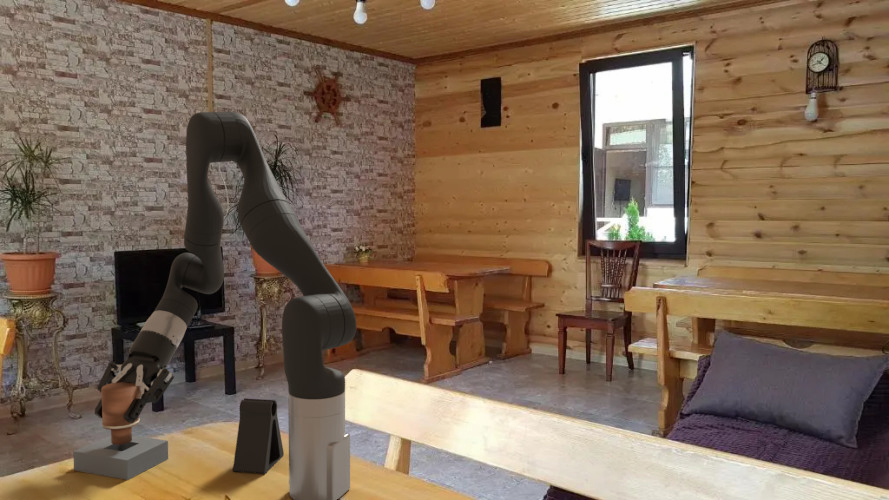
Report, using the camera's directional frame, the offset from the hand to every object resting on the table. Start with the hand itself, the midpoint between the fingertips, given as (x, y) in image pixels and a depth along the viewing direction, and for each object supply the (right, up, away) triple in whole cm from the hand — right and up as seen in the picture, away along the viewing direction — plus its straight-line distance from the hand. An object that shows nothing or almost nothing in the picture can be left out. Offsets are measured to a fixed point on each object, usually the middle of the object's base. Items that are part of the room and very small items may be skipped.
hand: (113, 418), depth 123 cm
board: (0, -9, +2) cm, 9 cm away
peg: (0, -5, +2) cm, 5 cm away
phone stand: (+25, -9, +3) cm, 27 cm away
